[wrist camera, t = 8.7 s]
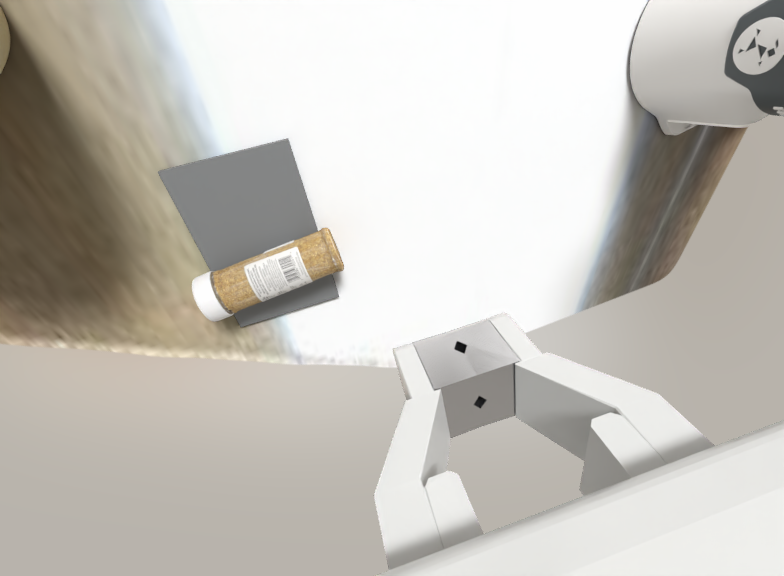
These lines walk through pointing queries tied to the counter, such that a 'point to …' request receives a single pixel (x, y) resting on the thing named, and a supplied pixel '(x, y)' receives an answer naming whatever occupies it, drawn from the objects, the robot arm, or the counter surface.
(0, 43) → the plant pot
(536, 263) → the counter surface
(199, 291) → the sprinkles bottle
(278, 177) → the mat
